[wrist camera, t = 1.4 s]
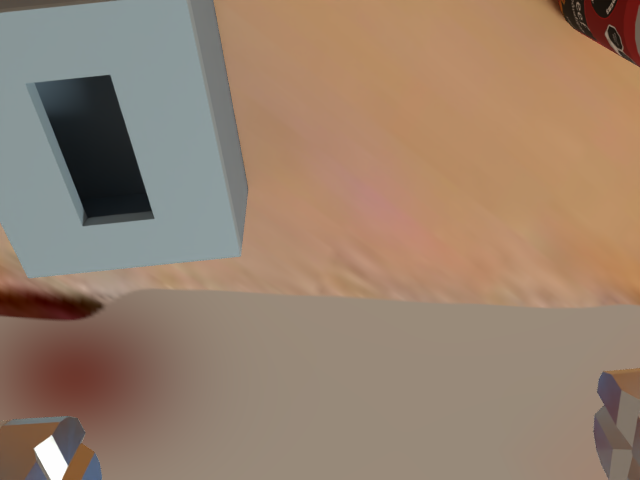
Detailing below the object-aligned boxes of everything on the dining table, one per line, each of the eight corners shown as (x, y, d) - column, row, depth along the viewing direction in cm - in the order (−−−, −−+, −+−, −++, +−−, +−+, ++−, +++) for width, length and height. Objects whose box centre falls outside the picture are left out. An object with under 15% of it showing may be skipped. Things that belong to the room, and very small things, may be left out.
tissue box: (-17, -12, 34) (-100, 23, 27) (206, -35, 34) (185, -7, 27) (72, 207, 43) (28, 278, 36) (248, 188, 43) (240, 256, 36)
